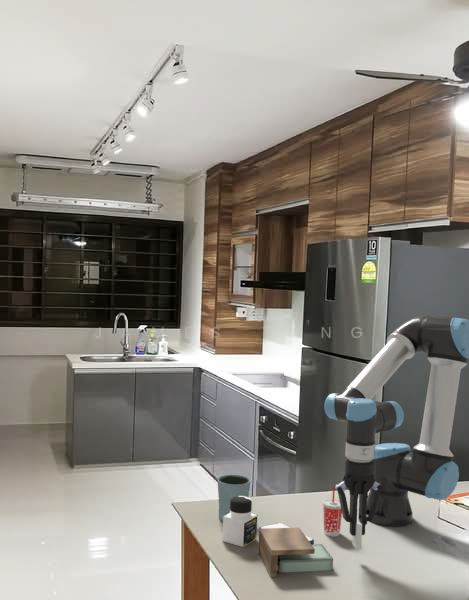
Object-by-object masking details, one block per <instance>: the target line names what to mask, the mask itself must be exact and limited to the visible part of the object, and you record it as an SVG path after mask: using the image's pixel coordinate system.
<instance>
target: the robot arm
mask: <svg viewBox="0 0 469 600" xmlns="http://www.w3.org/2000/svg"><path fill="white" fill-rule="evenodd" d="M420 353H426V354H427V358H426V359H427V360H428V361H429V363H430V364H431V366H430V371H429V372H430V373H429V379H428V385H427V392H426V399H425V404H424V411H423V418H422V425H421V431H420V436H419V442H418V444H416V445H414V446H413V449H412V451H411V446H410V445H409V444H406V443H399V442H388V443H387V442H386V443H380V444H376V434H379V433H382V432H386V431H393V430H394V429H396V428H399V427H400V426H401V425H402V424H403V422H404V418H405V414H404V413H405V412H404V410H403V408H402V406H401V404H399V403H398V402H396V401H393V400H392V401H391V400H390V401H388V400H385V401H377V400H374V399H373V398H374V397H375V396H376V394H378V392H379V391H380V390H381V389H382V388H383V387H384V385H385V384H386V383H387V382H388V380H390V378H392V377H393V375H394V374H395V373H396V372H397V370H398V369H400V367H401V366H402V365H403V363H404V362H405V361H406V360H410V359H412V358H413V357H414V356H415V355H416V354H420ZM468 359H469V319H466V318H459V317H455V316H453V317H451V316H450V317H449V316H438V315H437V316H436V315H435V316H433V315H420V316H416V317H413V318H411V319H409V320H407V321H405V322H404V323H401V324H400V325H399V326H398V327H397V328H395V329H394V330H393V331H392V332H391V333H390V334H389V335H388V336H387V338H386V344H385V345H384V346H383V347H382V348H381V349H380V350H379V352H378V353H377V354H376V355H375V356H373V358H372V359H371V360H370V361H369V362H368V364H367V365H366V366H365V367H364V368H363V369H362V371H360V372H359V373H358V374H357V376H355V378H354V379H353V380H352V381H351V382H350V384H349V385H348V386H347V387H346V388H345V389H344V390H343V392H342V393H338V392H337V393H335V392H333V393H330V394H328V396H327V397H326V398H325V400H324V405H323V407H324V409H323V410H324V412H325V415H326V416H327V417H328V418H329V419H332V420H334V421H337V422H341V423H342V422H343V423H346V424H345V425H346V428H345V429H346V432H345V433H346V437H345V450H344V452H345V454H344V456H345V461H344V476H343V478H342V481H341V482H340V483H336V484H334V485H333V486H334V487H335V490H336V492H337V495H338V501H340V505H341V510H342V518H343V519H344V521H346V523H349V534H350V535H351V536H352V544H351V545H352V546H353V548H354V549H355V550H362V541H363V540H362V538H363V536H365V534H366V525H367V524H368V522H372V523H374V524H378V525H382V526H387V527H404V526H408V525H410V524H411V523H412V522H413V515H414V514H413V513H414V512H413V510H412V507H411V503H410V499H409V496H408V495H409V493H412V494H416V495H419V496H424V497H426V498H427V499H434V500H437V501H442V500H447V499H448V498H449V497H450V496H451V495H452V494H453V492H454V491H455V490H456V488H457V485H458V482H459V478H460V470H459V466H458V464H456V463H455V462H454V461H453V459H454V454H453V453H452V452H451V450H450V445H451V439H452V431H453V424H454V418H455V417H454V416H455V412H456V405H457V396H458V391H459V385H460V376H461V370H462V369H463V368H465V367H466V366H468ZM346 488H347V489H348V491H349V505H348V500H347V497H346V493H345V491H346ZM348 506H349V507H348Z"/></svg>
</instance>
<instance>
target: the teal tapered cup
mask: <svg viewBox="0 0 469 600" xmlns="http://www.w3.org/2000/svg"><path fill="white" fill-rule="evenodd" d="M250 488H251V479H250V478H249V477H247V476H244V475H239V474H226V475H221V476H219V477H217V493H218V495H217V496H218V519H219V520H220V521H221V522H223V517H224V516H225V515H227V514H229V513H230V500H231V498H233V497H236V496H245V497H248V498H250V497H249V495H250Z"/></svg>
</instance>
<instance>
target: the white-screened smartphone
mask: <svg viewBox="0 0 469 600" xmlns="http://www.w3.org/2000/svg"><path fill="white" fill-rule="evenodd" d="M267 528H292V527H290V526H289V525H286V524H284V523H282V522H277V523H273V524H267V525H264V526H263V525H262V526H259V529H267ZM259 529H258V530H259ZM304 535H305V536H306V538H307V539H308V540H309V542H310V543H311V545H314V544H315V540H314V538H312V537H310V536H308V535H306V534H304Z"/></svg>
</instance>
